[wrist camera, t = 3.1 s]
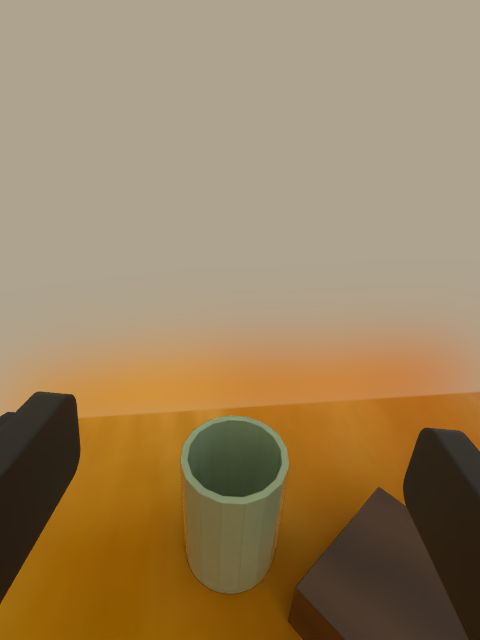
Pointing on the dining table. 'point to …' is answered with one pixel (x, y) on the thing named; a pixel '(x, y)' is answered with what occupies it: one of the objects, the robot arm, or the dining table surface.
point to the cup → (232, 501)
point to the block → (375, 583)
